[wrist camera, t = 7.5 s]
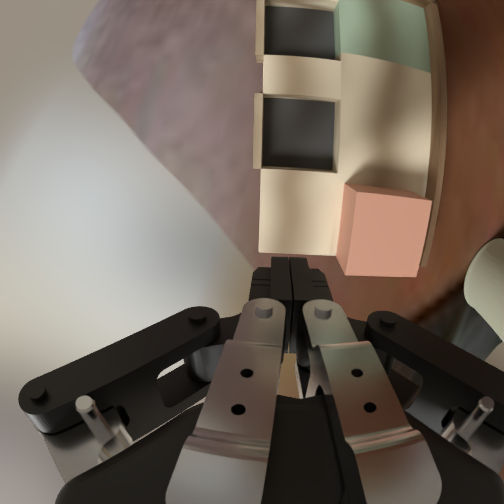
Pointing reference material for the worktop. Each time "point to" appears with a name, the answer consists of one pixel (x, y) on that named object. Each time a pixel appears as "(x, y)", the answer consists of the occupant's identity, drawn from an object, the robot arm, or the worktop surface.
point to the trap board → (345, 112)
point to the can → (488, 284)
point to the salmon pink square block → (381, 231)
